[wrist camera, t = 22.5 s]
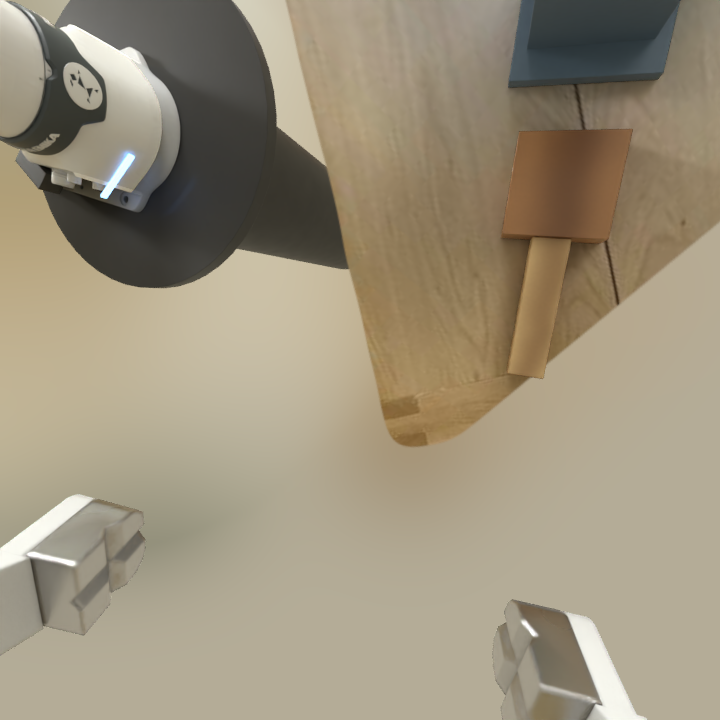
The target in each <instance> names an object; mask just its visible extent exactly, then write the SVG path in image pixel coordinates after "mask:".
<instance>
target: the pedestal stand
mask: <svg viewBox="0 0 720 720" xmlns="http://www.w3.org/2000/svg"><path fill="white" fill-rule="evenodd" d="M679 3H680V0H522V1H521V7H520V14H519V20H518V26H517V32H516V39H515V45H514V51H513V58H512V64H511V70H510V76H509V84H508V87H526V86H545V85H563V84H582V83H600V82H619V81H637V80H656V79H659V77H660V76H661V75H662V74H663V72H664V68H665V64H666V59H667V55H668V51H669V46H670V42H671V38H672V33H673V29H674V25H675V20H676V16H677V12H678V7H679Z"/></svg>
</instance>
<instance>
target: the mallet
mask: <svg viewBox="0 0 720 720" xmlns="http://www.w3.org/2000/svg"><path fill="white" fill-rule="evenodd" d="M632 131H633V129H607V130H561V131H520V132H519V135H518V140H517V145H516V151H515V157H514V163H513V169H512V175H511V181H510V187H509V193H508V199H507V205H506V211H505V217H504V223H503V229H502V235H501V238H510V239H527V240H530V245H529V250H528V255H527V261H526V266H525V272H524V277H523V283H522V288H521V294H520V299H519V305H518V310H517V316H516V321H515V326H514V332H513V337H512V343H511V348H510V354H509V359H508V365H507V372H508V373H509V374H515V375H521V376H527V377H534V378H540V379H543V378H544V373H545V368H546V363H547V358H548V353H549V349H550V344H551V339H552V334H553V329H554V324H555V319H556V314H557V309H558V304H559V299H560V295H561V290H562V285H563V280H564V275H565V270H566V265H567V260H568V255H569V250H570V246H571V242H579V243H596V244H600V243H602V242H604V241H606V240H608V239H609V234H610V230H611V225H612V221H613V216H614V212H615V207H616V203H617V198H618V194H619V189H620V185H621V180H622V176H623V171H624V167H625V162H626V158H627V153H628V149H629V144H630V140H631V135H632Z"/></svg>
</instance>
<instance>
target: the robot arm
mask: <svg viewBox="0 0 720 720" xmlns="http://www.w3.org/2000/svg"><path fill="white" fill-rule="evenodd" d="M0 140H1V141H3V142H5V143H6V144H8V145H10V146H12V147H15V148H17V149H20V151H19V153H18V156H17V158H16V162H17V163H18V165H19V166H20V167H21V168H22V169H23V171H24V172H25V173H26V174H27V176H28V177H29V178H30V179H31V180H32V182H33V183H34V184H35V185H36V186H37V188H38V189H41V190H45V191H49V192H53V193H57V194H59V193H60V192H61V190H62V188H63V189H66V190H68V191H71V192H74V193H77V194H81V195H84V196H87V197H90V198H93V199H96V200H99V201H102V202H106V203H109V204H112V205H115V206H118V207H121V208H124V209H127V210H131V211H134V212H141V211H142V210H143V209H144V207H145V205H146V204H147V201H148V199H149V197H150V195H151V194H152V192H153V191H154V190H155V189H156V188H158V187H159V186H160V185H161V184H162V183H163V182H164V181H165V179H166V178H167V177H168V175H169V174H170V172H171V170H172V168H173V166H174V164H175V161H176V158H177V155H178V150H179V145H180V120H179V115H178V110H177V107H176V104H175V101H174V99H173V97H172V95H171V93H170V92H169V90H168V88H167V87H166V86H165V85H164V83H163V82H162V81H161V80H159V79H158V78H157V77H156V76H155V75H154V74H153V73H152V72H151V71H150V70H149V68H148V65H147V63H146V61H145V59H144V57H143V56H142V54H141V53H140V52H139V51H137V50H135V49H133V48H131V47H127V48H125V49H122V50H120V51H119V50H117V49H115V48H113V47H112V46H110V45H108V44H107V43H105V42H103V41H101V40H100V39H98V38H96V37H94V36H93V35H91V34H89V33H87V32H85V31H84V30H82V29H80V28H78V27H76V26H74V25H68V27H62V28H58V27H56V26H55V25H53V24H51V23H50V22H49V21H48V20H47V19H46V18H44V17H43V16H41V15H39V14H38V13H36V12H34V11H32V10H29V9H27V8H25V7H23V6H22V5H20V4H17V3H15V2H11V1H4V0H0ZM143 525H144V516H143V512H142V511H139V510H137V509H133V508H129V507H125V506H122V505H118V504H114V503H111V502H107V501H104V500H100V499H95V498H91V497H88V496H84V495H80V494H77V495H74V496H70V497H68V498H67V499H66V500H64V501H63V502H61V503H60V504H59V505H58V506H56V507H55V508H53V509H52V510H51V511H49V512H48V513H47V514H46V515H44V516H43V517H41V518H40V519H39V520H37V521H36V522H35V523H33V524H32V525H31V526H30V527H28V528H27V529H25V530H24V531H23V532H21V533H20V534H19V535H17V536H16V537H15V538H13V539H12V540H11V541H9V542H8V543H7V544H5V545H4V546H3V547H1V548H0V656H1V655H2V654H4V653H5V652H7V651H9V650H10V649H12V648H13V647H15V646H17V645H18V644H20V643H21V642H23V641H25V640H26V639H28V638H30V637H31V636H33V635H34V634H36V633H37V632H39V631H41V630H42V629H43V626H46V627H50V628H54V629H58V630H63V631H67V632H71V633H75V634H79V635H85V634H86V633H87V631H88V630H89V629H90V628H91V627H92V625H93V624H94V623H95V622H96V621H97V619H98V618H99V617H100V616H101V615H102V613H103V612H104V611H105V609H107V607H108V606H109V605H110V601H111V593H112V592H114V591H115V590H117V589H119V588H121V587H123V586H125V585H126V584H127V583H128V582H129V581H130V579H131V578H132V577H133V576H134V574H135V573H136V571H137V570H138V567H139V566H140V564H141V562H142V560H143V557H144V552H145V538H144V537H143V536H142V534H141V533H140V531H139V529H140V528H141V527H142V526H143ZM504 614H505V618H506V623H504V624H502V625H500V626H498V628H497V631H496V634H495V637H494V643H493V667H494V673H495V679H496V682H497V684H498V685H499V687H500V688H501V689H502V691H503V692H504V694H505V695H506V696H505V699H504V701H503V703H502V706H501V714H502V719H503V720H647V718H645V717H642V716H638V715H637V714H636V712H635V710H634V708H633V706H632V704H631V702H630V699H629V697H628V695H627V693H626V691H625V689H624V687H623V684H622V682H621V680H620V678H619V676H618V674H617V671H616V669H615V667H614V665H613V663H612V661H611V659H610V656H609V654H608V652H607V650H606V648H605V646H604V644H603V641H602V639H601V637H600V635H599V633H598V631H597V628H596V626H595V624H594V623H593V622H592V621H591V619H590V618H589V617H585V616H580V615H576V614H572V613H568V612H564V611H560V610H556V609H552V608H547V607H543V606H539V605H535V604H530V603H525V602H521V601H517V600H511V601H510V602H508V604H507V606H506V608H505V611H504Z"/></svg>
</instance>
